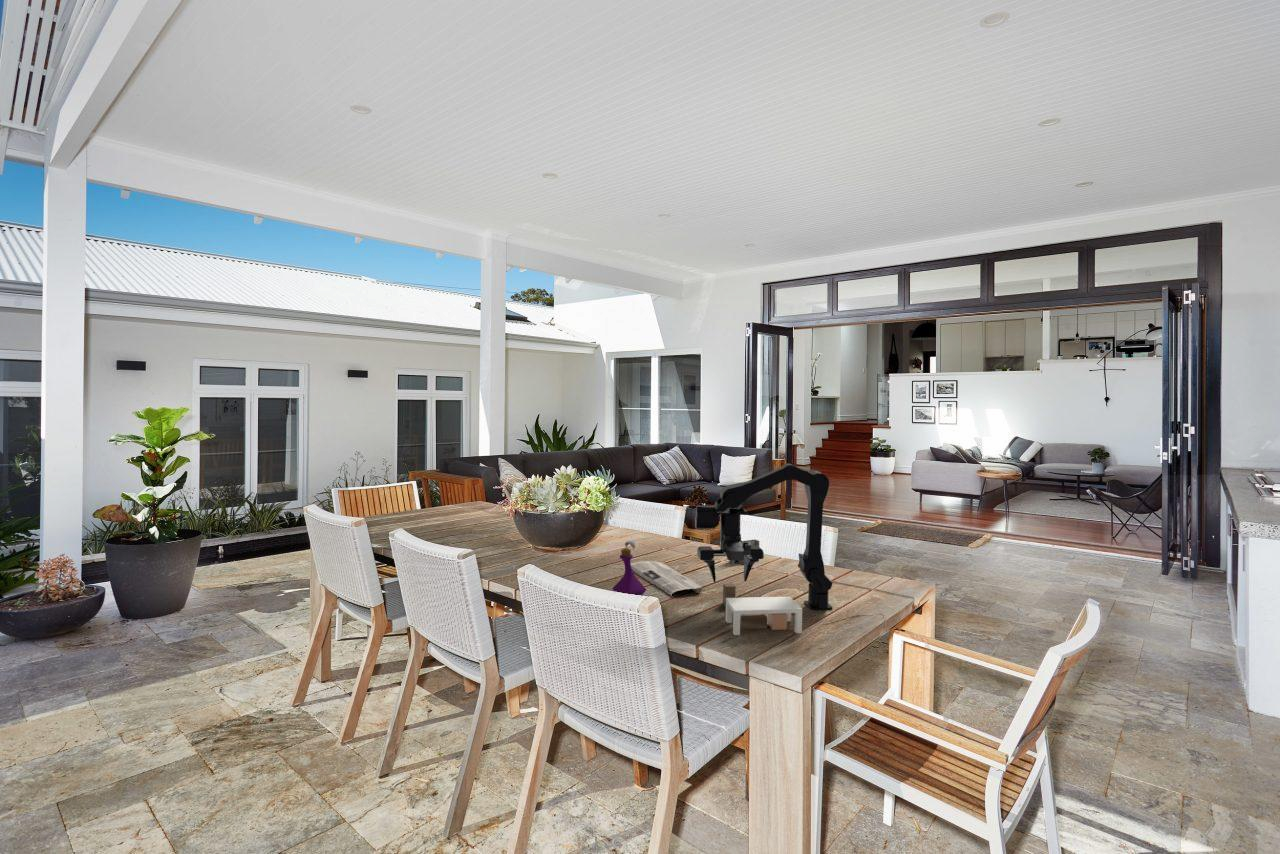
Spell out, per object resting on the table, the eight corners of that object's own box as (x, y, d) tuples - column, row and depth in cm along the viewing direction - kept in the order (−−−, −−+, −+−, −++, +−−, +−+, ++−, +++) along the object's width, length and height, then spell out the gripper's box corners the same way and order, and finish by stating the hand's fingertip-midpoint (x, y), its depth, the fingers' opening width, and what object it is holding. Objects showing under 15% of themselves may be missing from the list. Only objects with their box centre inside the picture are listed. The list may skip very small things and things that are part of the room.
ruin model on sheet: (734, 565, 235) (734, 538, 235) (729, 563, 238) (730, 536, 237) (759, 561, 240) (760, 535, 240) (754, 559, 243) (755, 533, 242)
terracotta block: (767, 624, 176) (768, 610, 175) (782, 624, 176) (782, 609, 176) (772, 630, 172) (772, 615, 171) (786, 629, 172) (787, 615, 172)
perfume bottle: (611, 599, 196) (612, 540, 194) (631, 593, 200) (631, 536, 199) (627, 605, 190) (627, 545, 189) (646, 600, 195) (647, 541, 194)
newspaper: (627, 569, 229) (628, 559, 228) (659, 565, 234) (659, 556, 234) (673, 600, 197) (673, 588, 196) (709, 595, 202) (709, 583, 202)
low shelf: (725, 621, 178) (725, 598, 177) (789, 619, 179) (789, 596, 179) (734, 635, 168) (734, 610, 167) (801, 633, 169) (802, 608, 169)
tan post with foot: (722, 603, 192) (723, 583, 192) (747, 602, 193) (747, 583, 193) (739, 629, 172) (740, 607, 172) (767, 628, 173) (767, 606, 172)
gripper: (704, 536, 181) (703, 590, 182) (769, 534, 182) (768, 589, 183) (697, 527, 192) (696, 579, 193) (758, 526, 193) (757, 577, 194)
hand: (729, 581), depth 190 cm, fingers open, 9 cm apart
